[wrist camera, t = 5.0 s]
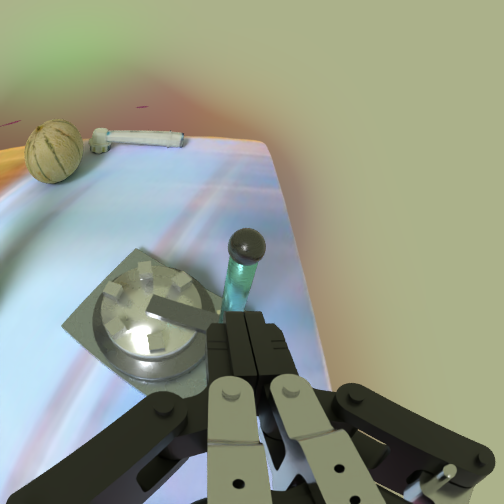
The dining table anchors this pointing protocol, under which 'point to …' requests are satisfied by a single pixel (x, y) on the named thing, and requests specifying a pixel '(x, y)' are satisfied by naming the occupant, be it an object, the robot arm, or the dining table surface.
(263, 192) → the dining table surface
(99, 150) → the beige piece
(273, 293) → the dining table surface
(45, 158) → the cantaloupe
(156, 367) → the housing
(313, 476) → the robot arm
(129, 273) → the crank handle wheel
